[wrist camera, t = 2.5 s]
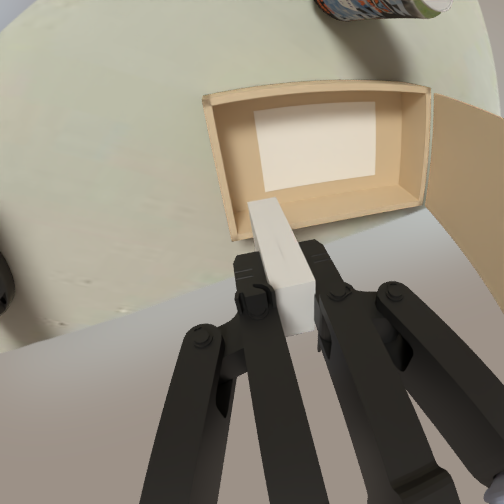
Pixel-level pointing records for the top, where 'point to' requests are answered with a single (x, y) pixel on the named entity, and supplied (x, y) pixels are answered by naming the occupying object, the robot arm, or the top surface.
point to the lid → (470, 185)
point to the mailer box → (320, 149)
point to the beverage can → (382, 9)
